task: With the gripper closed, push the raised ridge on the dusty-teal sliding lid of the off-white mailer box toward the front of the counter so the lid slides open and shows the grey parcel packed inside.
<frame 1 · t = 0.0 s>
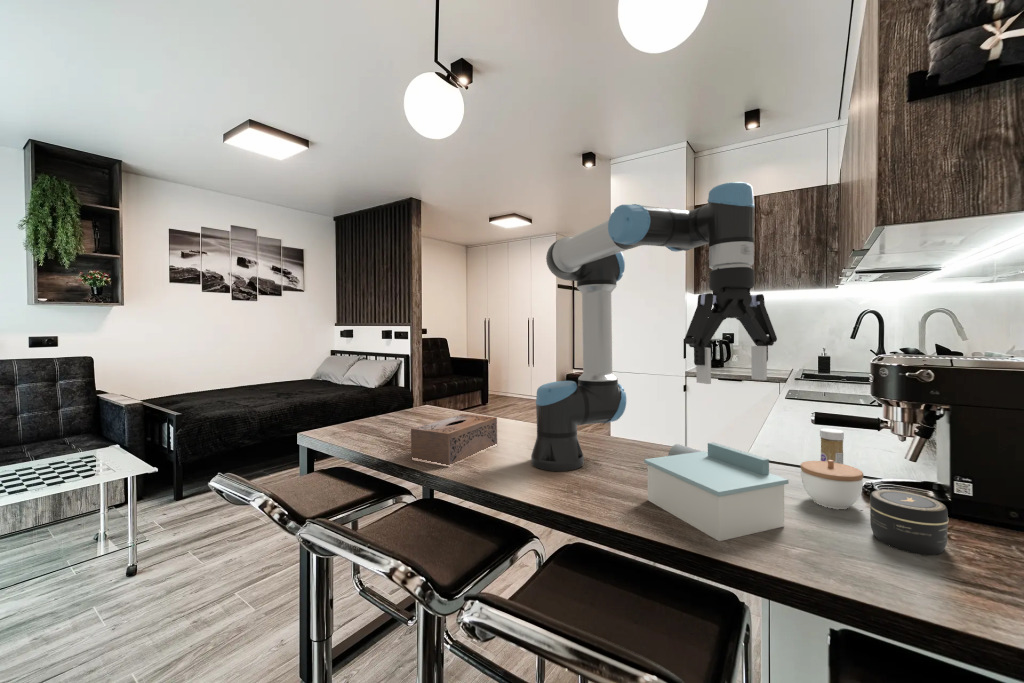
hand: (732, 381, 79), 28 cm above the breakfast bar, tool pointing down, fingers open, 13 cm apart
mailer box: (710, 512, 87), on the breakfast bar
tissue box cover: (456, 454, 134), on the breakfast bar
jar: (907, 543, 73), on the breakfast bar
sprinkles bottle: (831, 486, 100), on the breakfast bar
lidded jar: (830, 504, 90), on the breakfast bar
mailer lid: (710, 463, 87), point 10 cm above the breakfast bar, slide at 0.0 cm
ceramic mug: (690, 475, 110), on the breakfast bar
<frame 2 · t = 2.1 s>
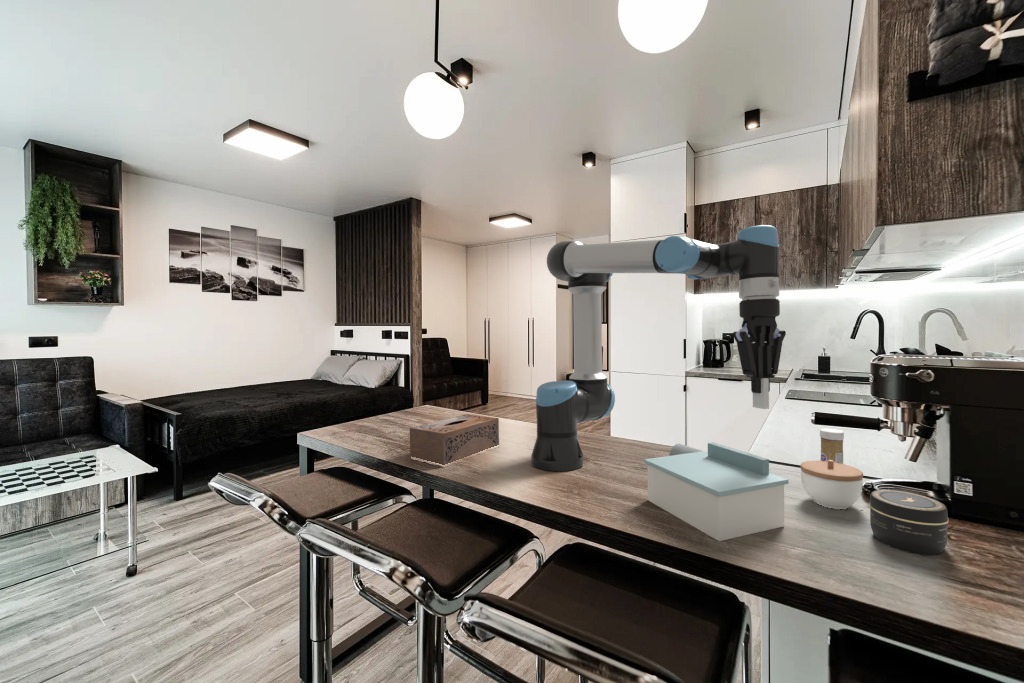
hand: (760, 407, 91), 21 cm above the breakfast bar, tool pointing down, fingers closed
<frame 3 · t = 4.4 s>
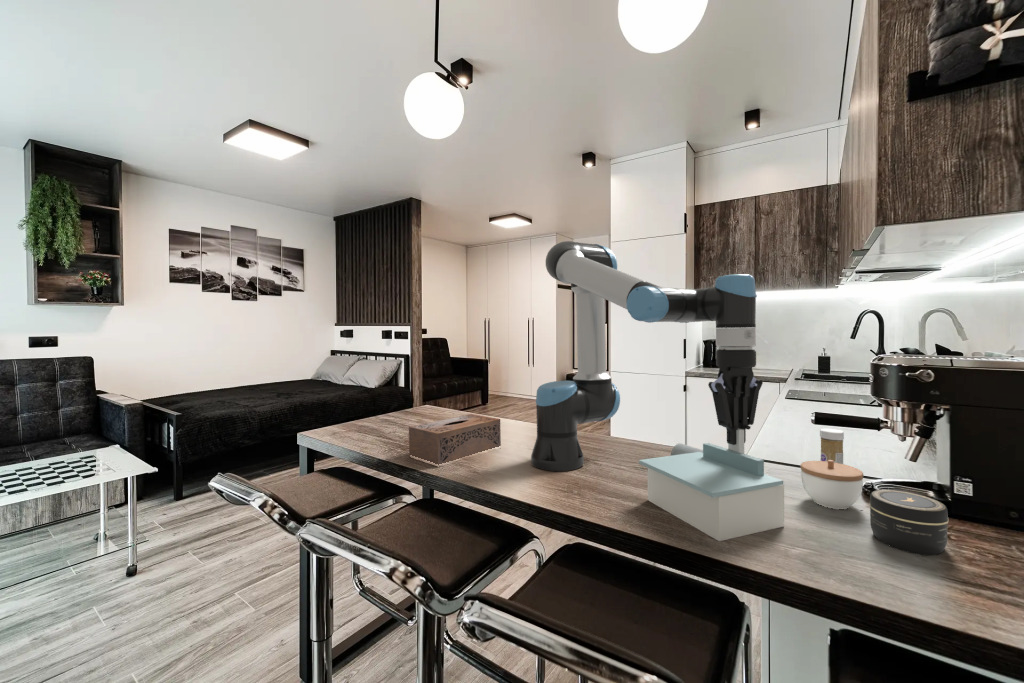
hand: (736, 458, 89), 10 cm above the breakfast bar, tool pointing down, fingers closed
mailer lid: (705, 464, 86), point 10 cm above the breakfast bar, slide at 1.4 cm, touching gripper
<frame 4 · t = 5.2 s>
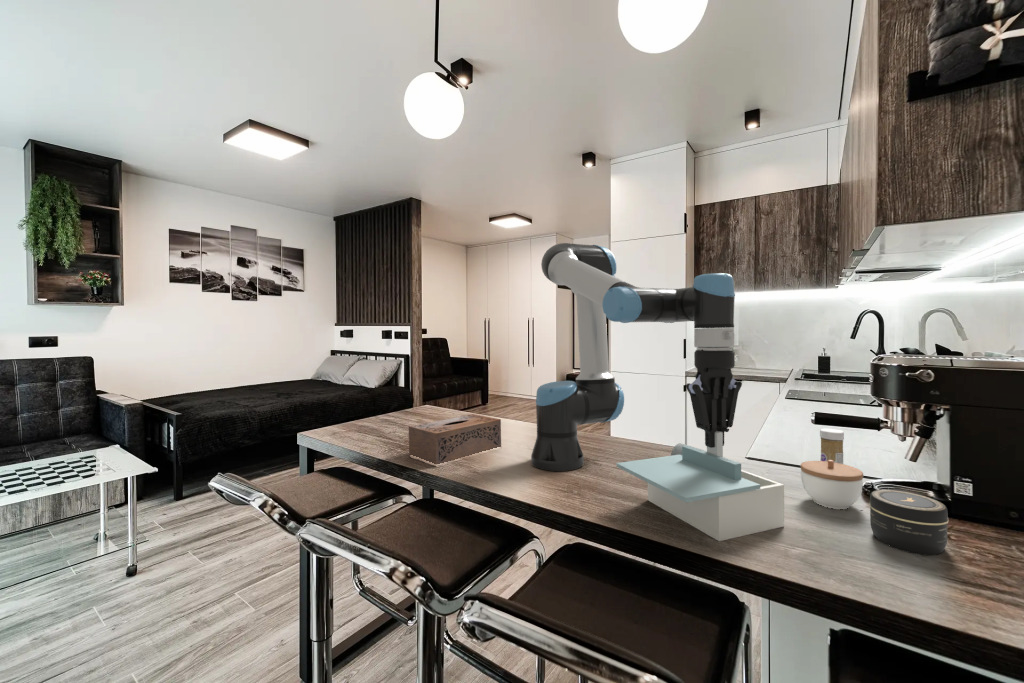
hand: (714, 462, 87), 10 cm above the breakfast bar, tool pointing down, fingers closed
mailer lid: (682, 467, 84), point 10 cm above the breakfast bar, slide at 7.2 cm, touching gripper
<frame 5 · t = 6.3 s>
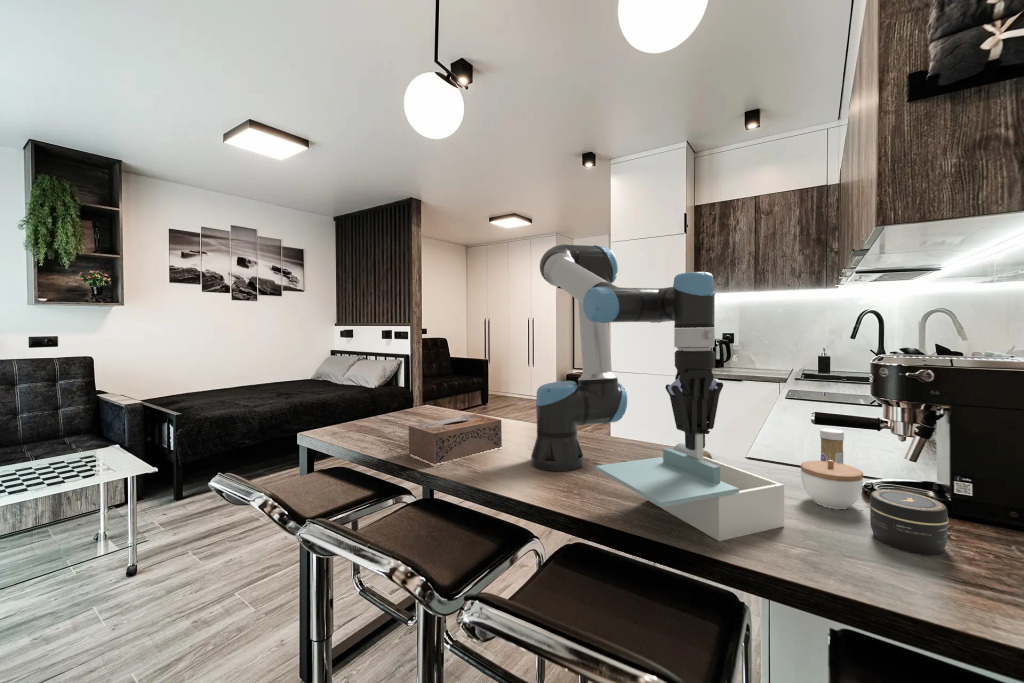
hand: (695, 464, 85), 10 cm above the breakfast bar, tool pointing down, fingers closed
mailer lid: (661, 470, 82), point 10 cm above the breakfast bar, slide at 12.3 cm, touching gripper
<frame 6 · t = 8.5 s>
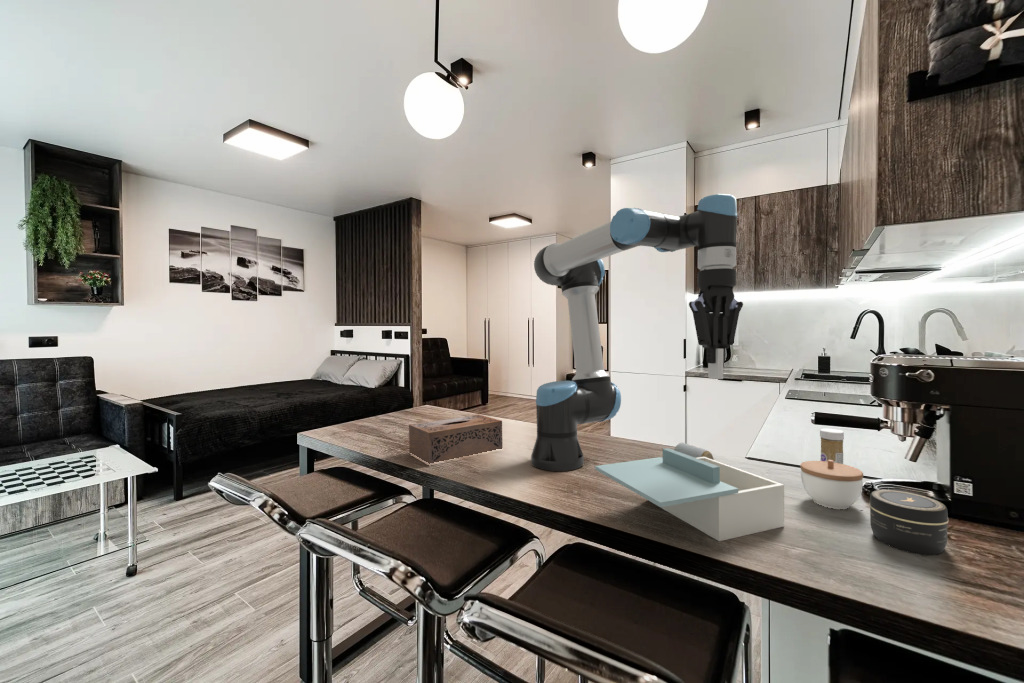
hand: (715, 378, 91), 27 cm above the breakfast bar, tool pointing down, fingers closed
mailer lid: (660, 470, 82), point 10 cm above the breakfast bar, slide at 12.5 cm
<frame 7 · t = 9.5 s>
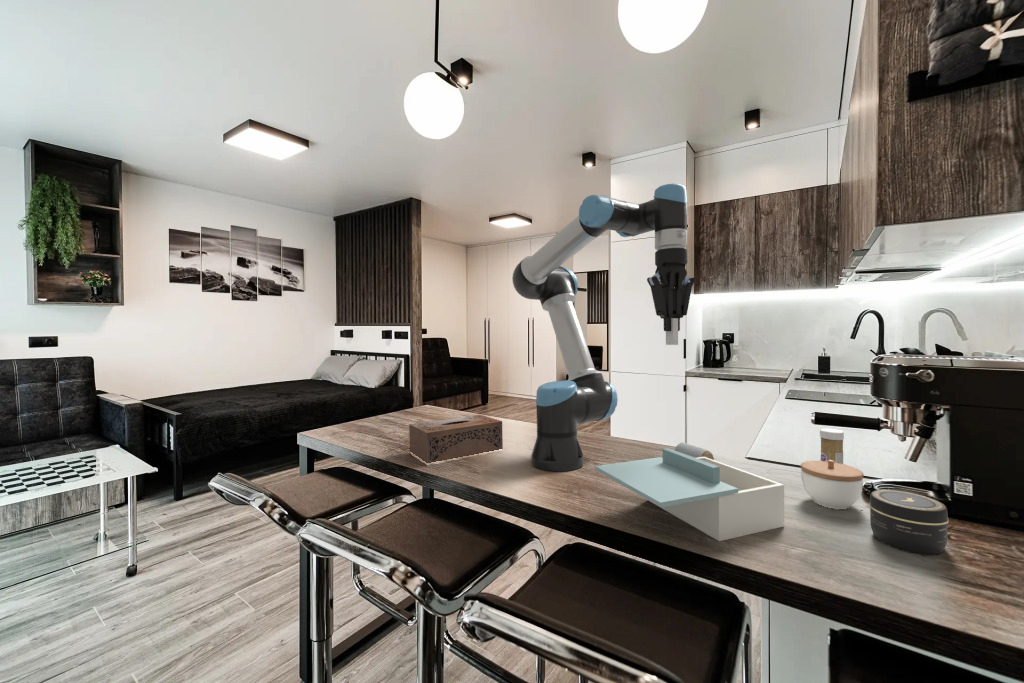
hand: (671, 344, 104), 34 cm above the breakfast bar, tool pointing down, fingers closed
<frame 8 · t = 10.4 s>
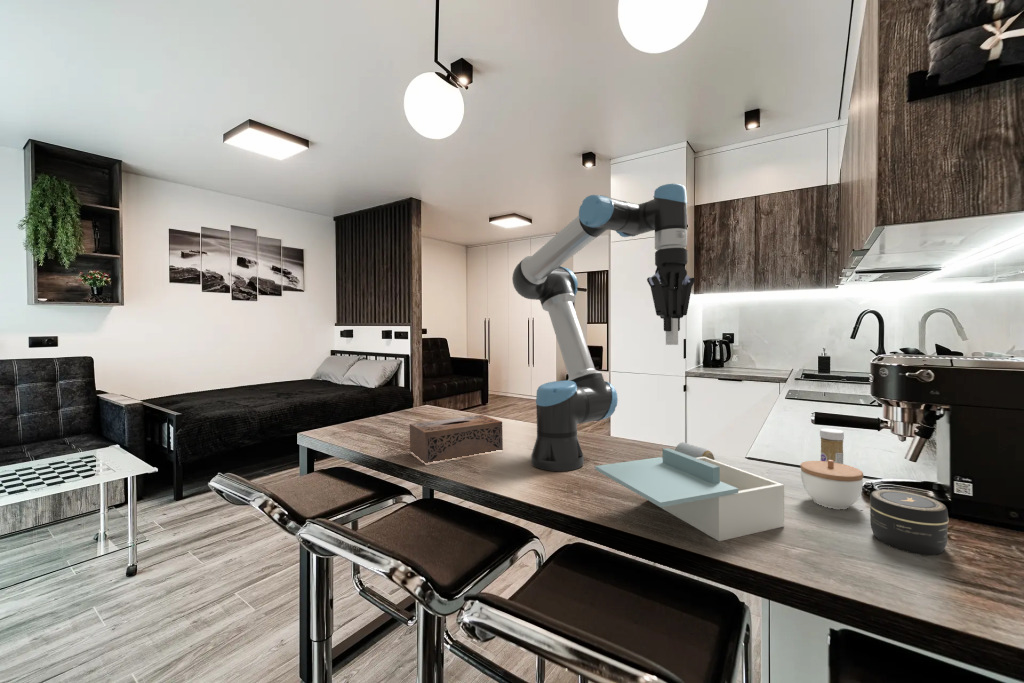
hand: (671, 344, 104), 34 cm above the breakfast bar, tool pointing down, fingers closed
at the end: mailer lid slide at 12.5 cm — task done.
